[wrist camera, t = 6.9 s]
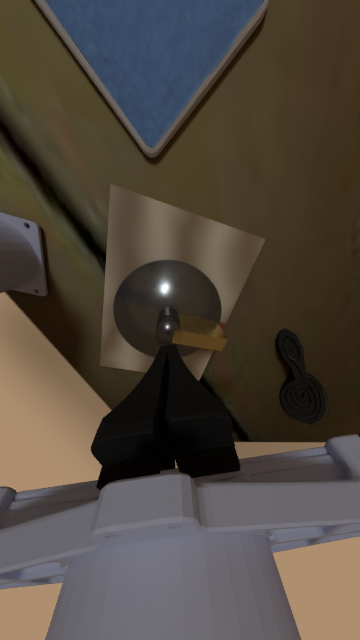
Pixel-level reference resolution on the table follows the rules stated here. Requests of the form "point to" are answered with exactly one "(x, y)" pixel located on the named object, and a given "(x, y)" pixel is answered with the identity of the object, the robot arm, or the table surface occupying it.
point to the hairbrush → (299, 382)
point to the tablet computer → (154, 54)
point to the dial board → (173, 244)
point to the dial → (169, 309)
